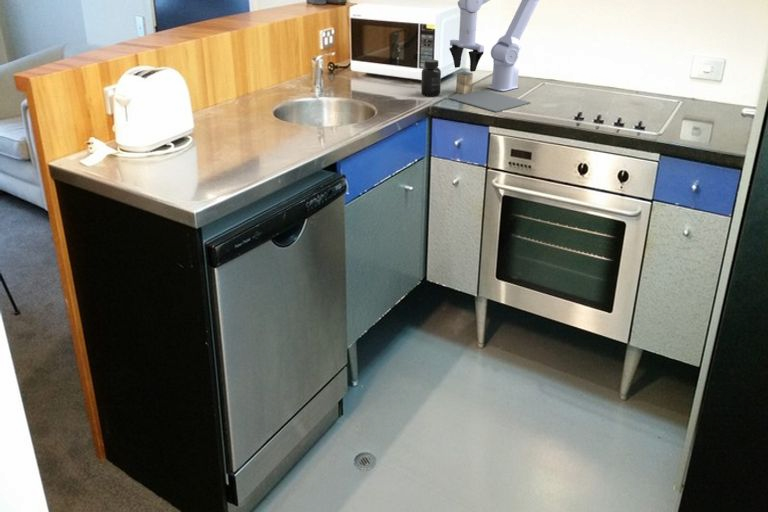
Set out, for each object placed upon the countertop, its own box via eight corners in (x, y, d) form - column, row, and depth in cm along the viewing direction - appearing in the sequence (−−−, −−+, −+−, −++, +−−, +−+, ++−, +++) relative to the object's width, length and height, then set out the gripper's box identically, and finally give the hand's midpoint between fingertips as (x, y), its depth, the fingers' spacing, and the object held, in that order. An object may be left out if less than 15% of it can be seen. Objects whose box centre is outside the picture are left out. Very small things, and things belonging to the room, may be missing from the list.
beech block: (463, 90, 261) (464, 71, 258) (471, 92, 259) (472, 73, 255) (455, 92, 259) (457, 72, 256) (463, 94, 256) (465, 74, 253)
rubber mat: (482, 90, 261) (482, 89, 261) (530, 103, 246) (530, 102, 246) (448, 98, 250) (448, 97, 250) (496, 112, 236) (496, 111, 235)
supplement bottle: (440, 92, 258) (441, 59, 252) (439, 97, 252) (441, 63, 246) (421, 91, 258) (422, 58, 253) (420, 96, 252) (421, 62, 247)
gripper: (444, 28, 251) (442, 67, 257) (475, 34, 241) (472, 74, 248) (458, 26, 255) (456, 64, 261) (489, 32, 246) (485, 71, 252)
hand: (465, 69), depth 255 cm, fingers open, 7 cm apart
